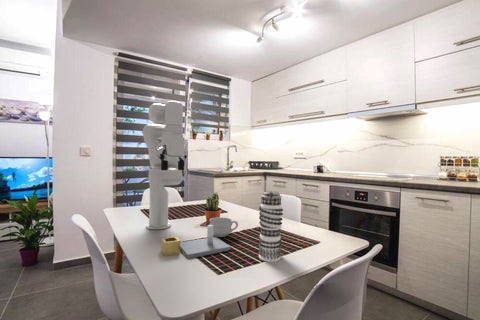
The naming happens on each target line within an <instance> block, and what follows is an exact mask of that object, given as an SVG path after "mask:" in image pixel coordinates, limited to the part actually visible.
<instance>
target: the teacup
mask: <svg viewBox="0 0 480 320" xmlns="http://www.w3.org/2000/svg"><path fill="white" fill-rule="evenodd" d="M233 224H235V227H233V228H232V226H233ZM209 225H213V237H217V238H222V237H223V238H225V237H227V236H229V234H231V233H232V232H233V231H235V230H236V229H237V228H238V226H239V223H238V221H237V220H232V218H229V217H221V216H220V217H219V216H218V217H212V218H210V219H209Z"/></svg>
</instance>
